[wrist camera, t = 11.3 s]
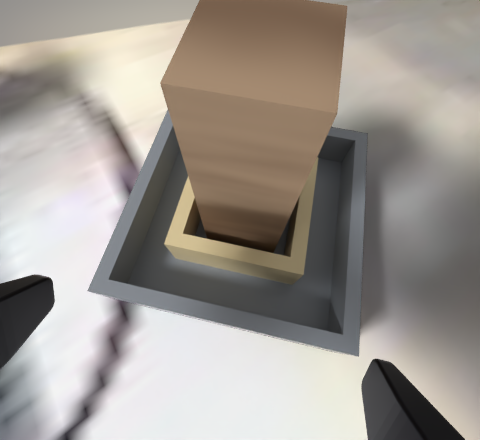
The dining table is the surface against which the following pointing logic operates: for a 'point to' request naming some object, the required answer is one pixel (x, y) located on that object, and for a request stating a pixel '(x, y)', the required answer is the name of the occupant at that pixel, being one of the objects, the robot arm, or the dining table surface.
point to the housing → (247, 252)
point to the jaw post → (254, 109)
